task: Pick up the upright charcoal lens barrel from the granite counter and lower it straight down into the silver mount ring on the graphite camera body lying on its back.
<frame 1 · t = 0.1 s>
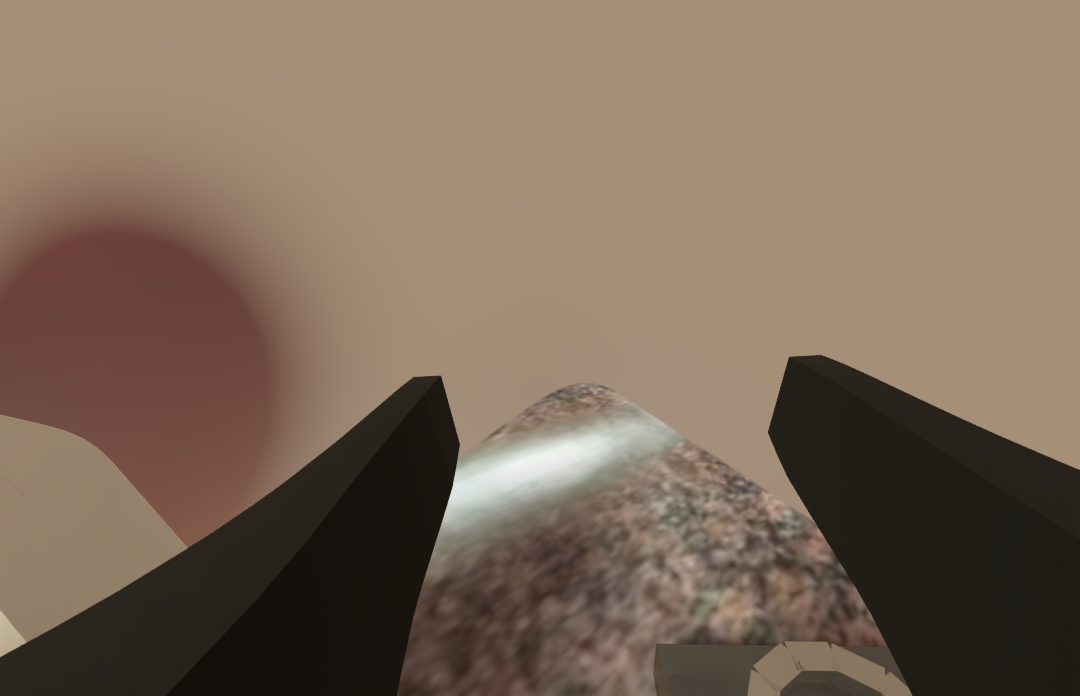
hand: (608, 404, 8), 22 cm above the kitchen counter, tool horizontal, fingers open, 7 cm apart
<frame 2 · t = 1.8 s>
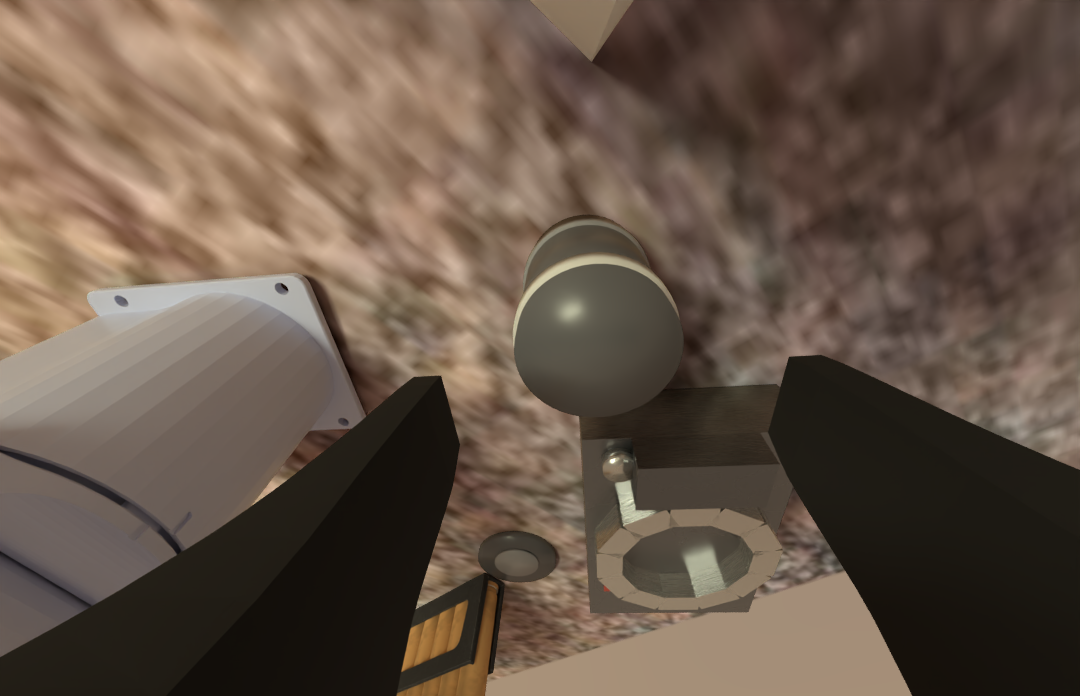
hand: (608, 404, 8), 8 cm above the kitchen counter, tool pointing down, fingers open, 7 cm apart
camera body: (664, 489, 22), on the kitchen counter
ammunition clip: (448, 599, 29), on the kitchen counter
lens: (584, 272, 15), on the kitchen counter
lens cap: (517, 549, 26), on the kitchen counter
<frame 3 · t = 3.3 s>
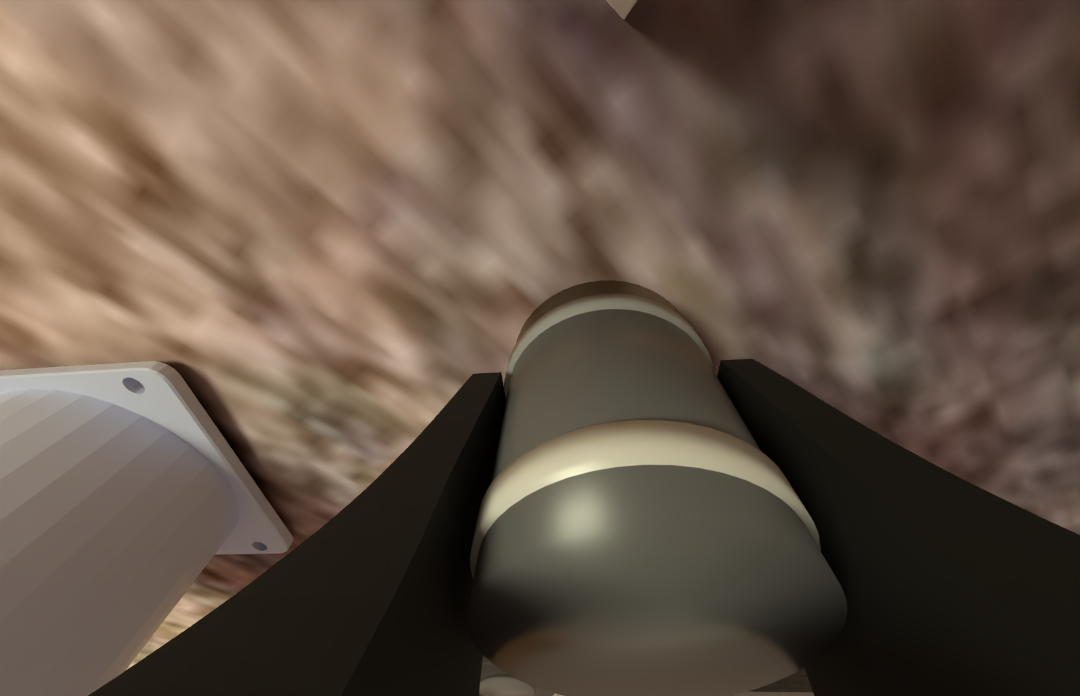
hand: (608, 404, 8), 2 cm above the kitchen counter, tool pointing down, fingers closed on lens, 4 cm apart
camera body: (702, 618, 16), on the kitchen counter
lens: (601, 362, 10), on the kitchen counter, touching gripper
lens cap: (508, 666, 20), on the kitchen counter
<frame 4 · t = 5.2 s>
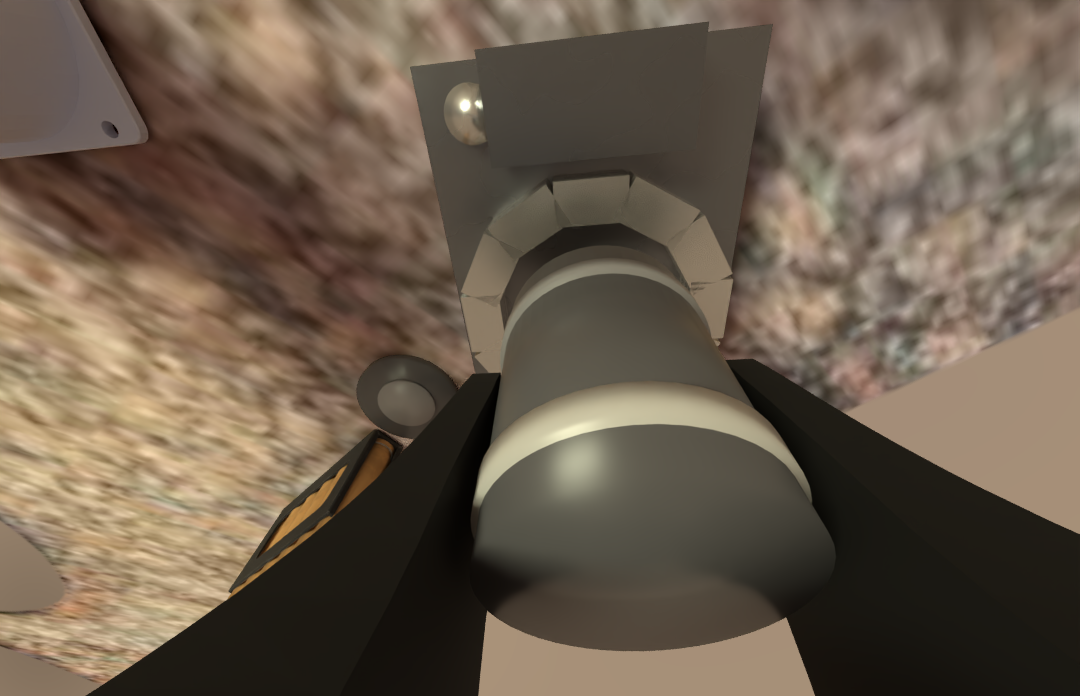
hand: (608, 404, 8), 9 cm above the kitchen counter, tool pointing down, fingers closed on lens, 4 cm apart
camera body: (585, 271, 16), on the kitchen counter
ammunition clip: (341, 477, 24), on the kitchen counter
lens: (597, 329, 10), point 7 cm above the kitchen counter, touching gripper
lens cap: (412, 392, 20), on the kitchen counter
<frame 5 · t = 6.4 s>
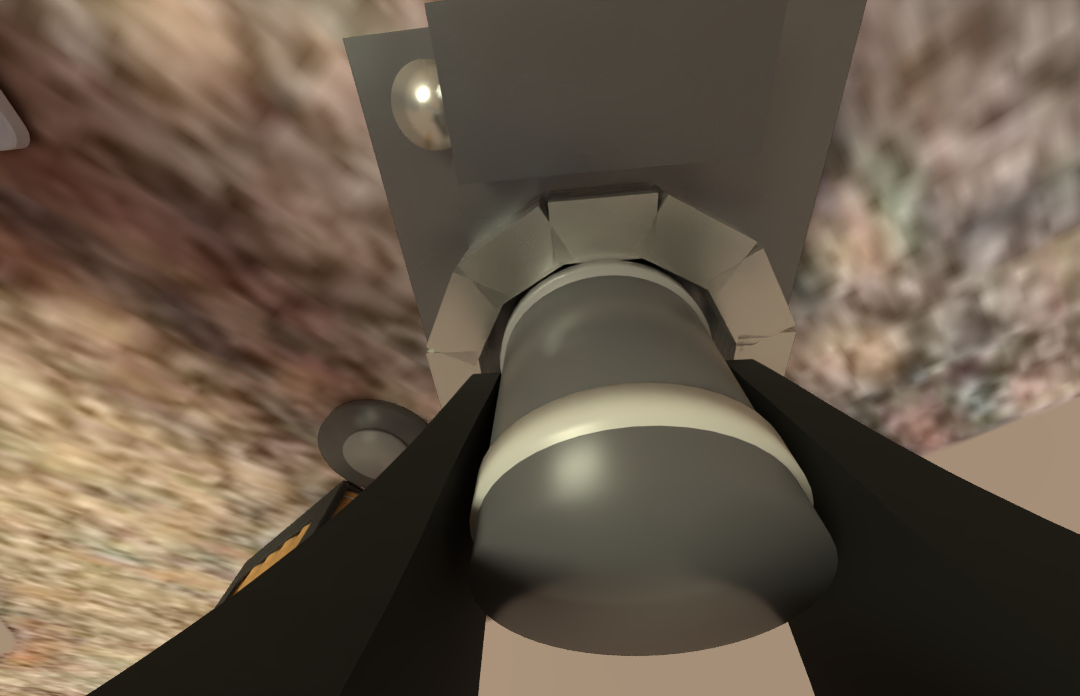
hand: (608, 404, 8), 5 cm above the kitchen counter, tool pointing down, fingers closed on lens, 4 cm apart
camera body: (591, 304, 13), on the kitchen counter
ammunition clip: (308, 529, 20), on the kitchen counter
lens: (597, 332, 10), point 3 cm above the kitchen counter, touching camera body, gripper
lens cap: (386, 439, 17), on the kitchen counter
when the fingers open (5 cm above the kitchen counter, at t = 6.9 s): lens stays where it is, resting on camera body.
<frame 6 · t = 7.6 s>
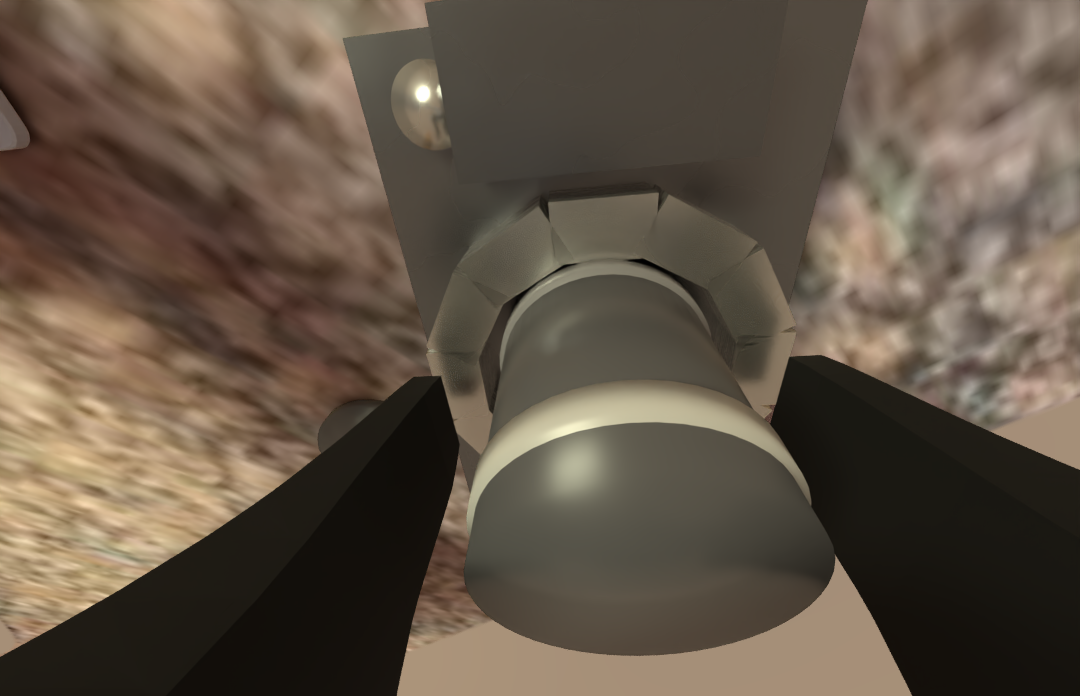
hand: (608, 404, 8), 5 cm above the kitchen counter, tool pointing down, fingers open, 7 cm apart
camera body: (591, 304, 13), on the kitchen counter
lens: (598, 331, 10), point 3 cm above the kitchen counter, touching camera body
lens cap: (386, 440, 17), on the kitchen counter
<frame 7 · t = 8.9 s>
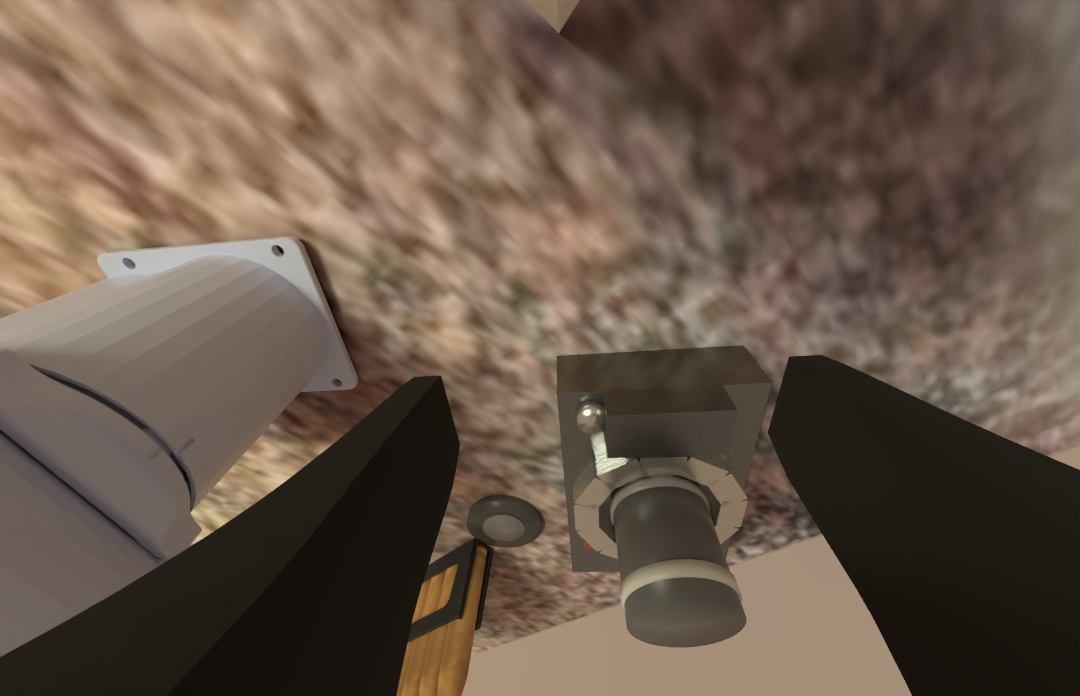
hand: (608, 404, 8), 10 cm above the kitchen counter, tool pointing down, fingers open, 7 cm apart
camera body: (642, 452, 23), on the kitchen counter
ammunition clip: (439, 566, 31), on the kitchen counter
lens: (653, 488, 20), point 3 cm above the kitchen counter, touching camera body
lens cap: (505, 515, 27), on the kitchen counter
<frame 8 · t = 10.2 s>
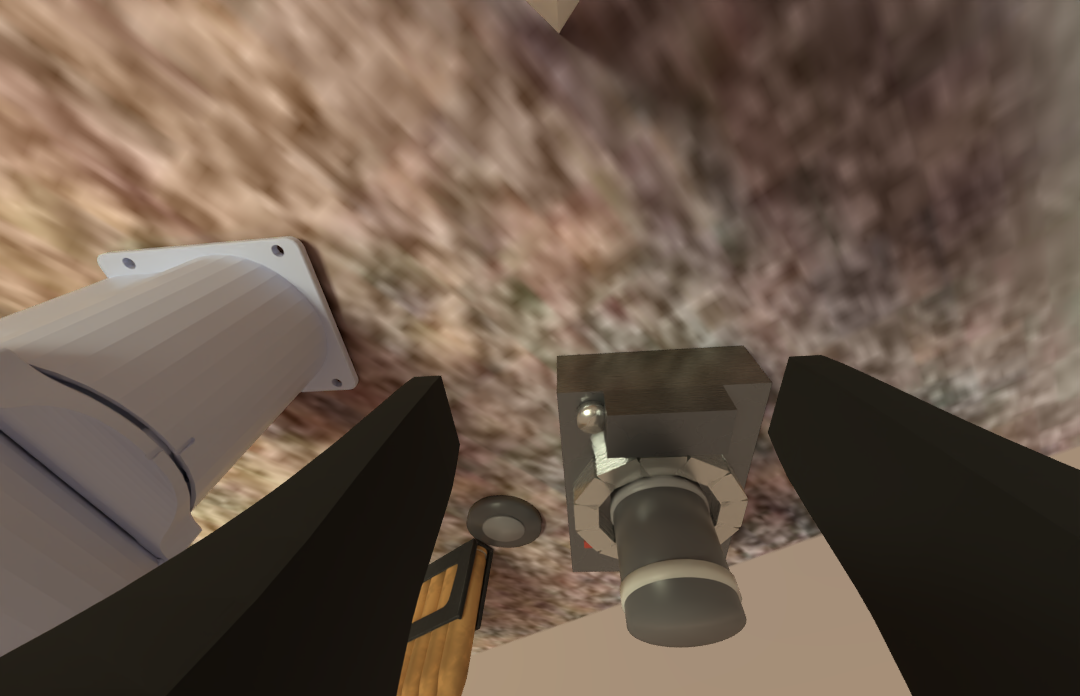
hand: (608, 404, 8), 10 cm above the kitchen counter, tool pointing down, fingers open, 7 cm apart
camera body: (642, 452, 23), on the kitchen counter
ammunition clip: (439, 566, 31), on the kitchen counter
lens: (653, 488, 20), point 3 cm above the kitchen counter, touching camera body
lens cap: (505, 516, 27), on the kitchen counter
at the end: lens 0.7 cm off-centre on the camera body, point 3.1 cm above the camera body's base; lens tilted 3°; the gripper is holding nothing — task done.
